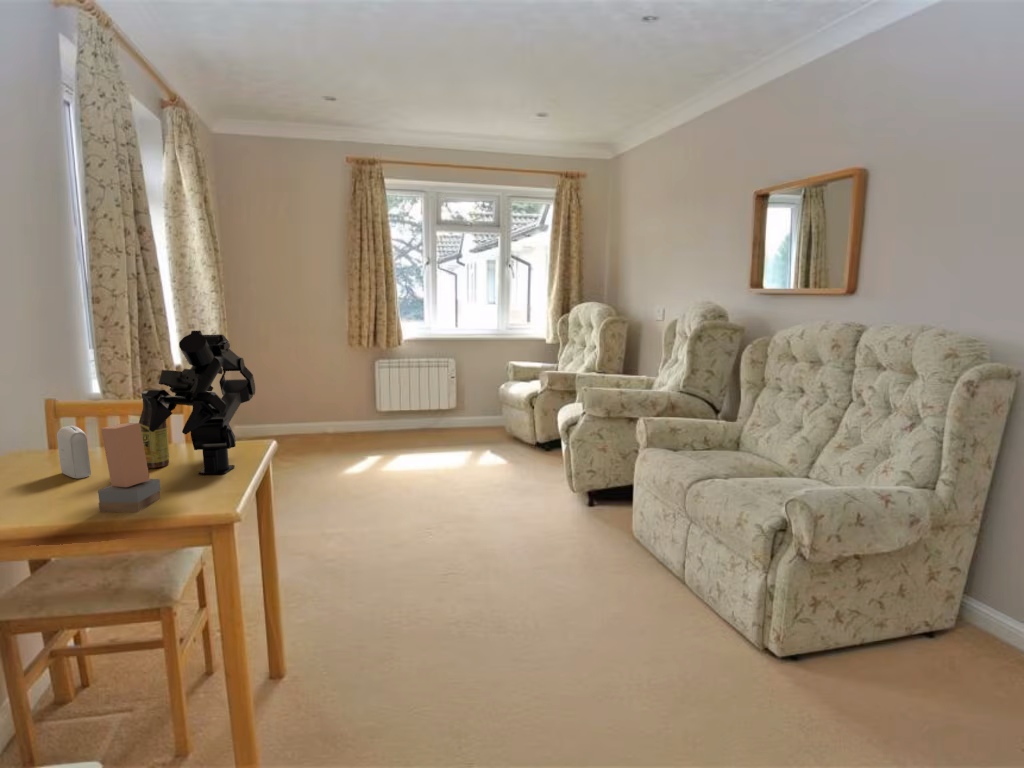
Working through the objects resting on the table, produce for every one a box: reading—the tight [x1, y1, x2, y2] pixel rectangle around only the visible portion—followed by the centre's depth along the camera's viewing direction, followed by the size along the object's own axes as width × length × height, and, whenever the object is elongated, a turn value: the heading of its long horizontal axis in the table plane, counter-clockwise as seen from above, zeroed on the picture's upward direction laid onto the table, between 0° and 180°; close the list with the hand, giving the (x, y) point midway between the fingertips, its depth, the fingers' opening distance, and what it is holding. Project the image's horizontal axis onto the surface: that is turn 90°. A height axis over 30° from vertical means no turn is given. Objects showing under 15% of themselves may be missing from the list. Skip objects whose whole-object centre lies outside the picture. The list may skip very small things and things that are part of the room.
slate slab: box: [97, 478, 162, 504], centre depth 127 cm, size 8×8×2 cm
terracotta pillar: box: [100, 422, 151, 487], centre depth 126 cm, size 5×5×12 cm
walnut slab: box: [98, 490, 161, 513], centre depth 127 cm, size 8×8×2 cm
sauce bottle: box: [138, 390, 170, 469], centre depth 154 cm, size 7×6×20 cm
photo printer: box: [56, 425, 92, 480], centre depth 148 cm, size 10×4×12 cm, turn 53°
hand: (167, 432), depth 135 cm, fingers open, 9 cm apart
